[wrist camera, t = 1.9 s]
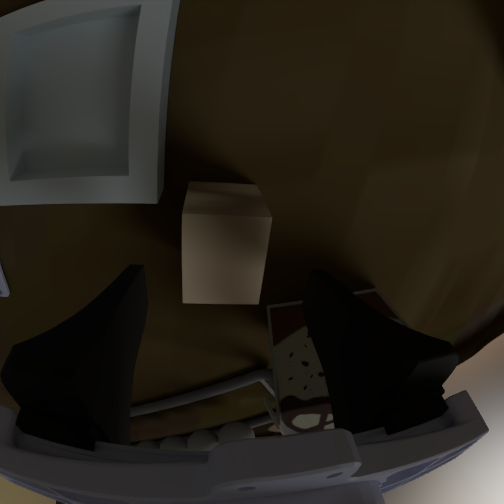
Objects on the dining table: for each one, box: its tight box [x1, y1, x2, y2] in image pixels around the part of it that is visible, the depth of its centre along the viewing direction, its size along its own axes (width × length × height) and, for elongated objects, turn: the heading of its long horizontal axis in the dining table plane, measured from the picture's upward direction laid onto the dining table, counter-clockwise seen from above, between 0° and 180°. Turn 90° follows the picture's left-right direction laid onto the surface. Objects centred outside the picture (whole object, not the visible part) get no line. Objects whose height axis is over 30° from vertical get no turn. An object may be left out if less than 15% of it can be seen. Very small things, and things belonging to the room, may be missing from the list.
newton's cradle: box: [56, 368, 276, 504], centre depth 23 cm, size 30×10×18 cm, turn 114°
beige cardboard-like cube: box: [182, 181, 272, 304], centre depth 16 cm, size 4×5×5 cm
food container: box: [263, 288, 411, 435], centre depth 20 cm, size 12×6×10 cm, turn 93°
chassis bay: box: [0, 0, 180, 206], centre depth 12 cm, size 11×12×2 cm
